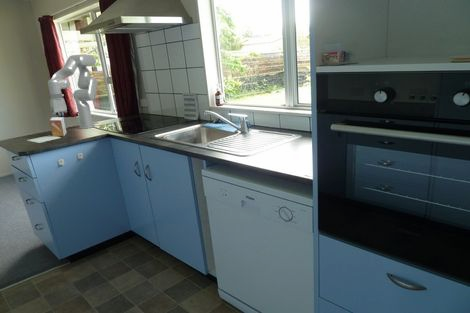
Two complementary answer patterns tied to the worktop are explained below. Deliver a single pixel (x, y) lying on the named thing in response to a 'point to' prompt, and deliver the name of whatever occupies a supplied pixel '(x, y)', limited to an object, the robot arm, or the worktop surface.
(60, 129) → the small box
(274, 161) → the worktop surface
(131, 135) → the worktop surface
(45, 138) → the mat
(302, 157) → the worktop surface
